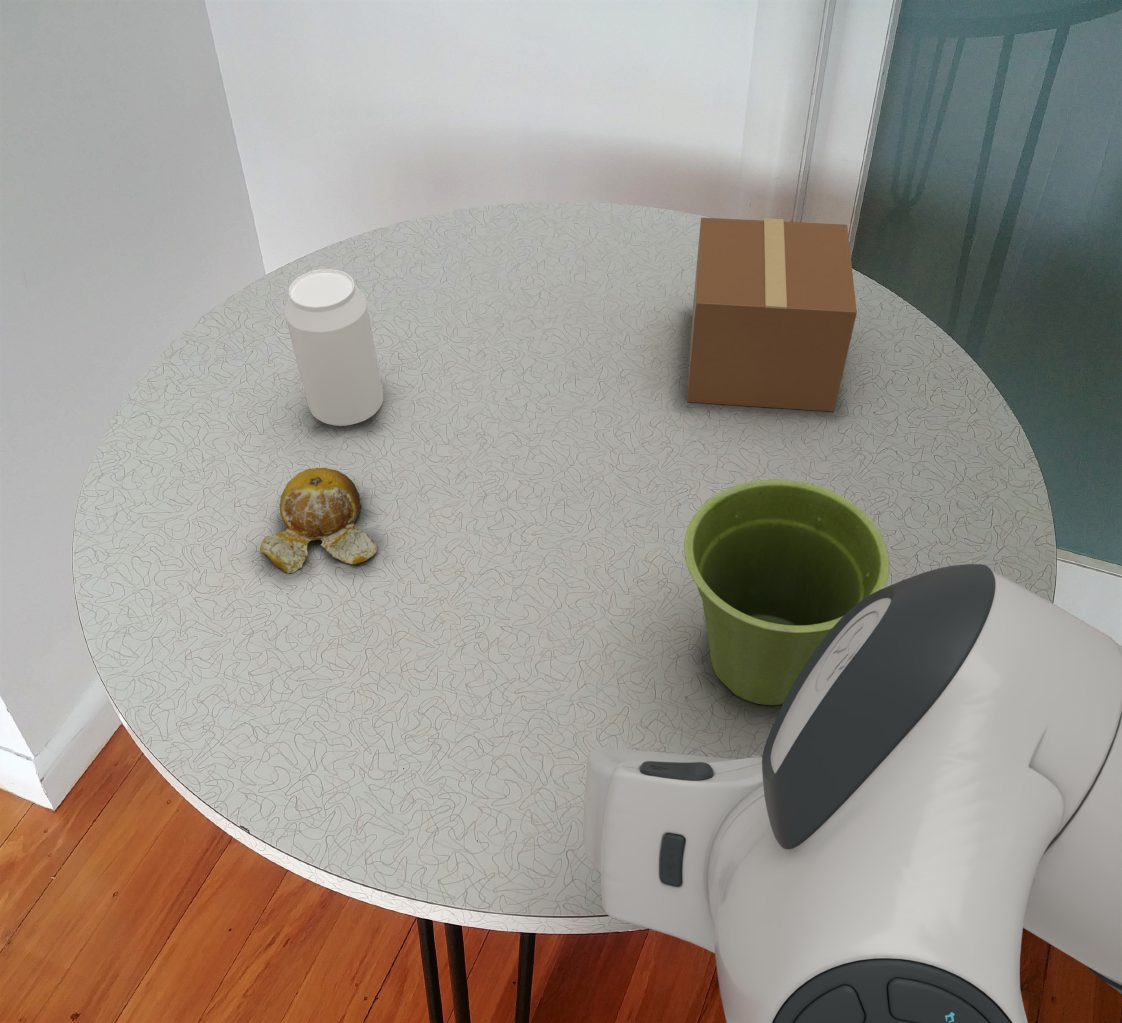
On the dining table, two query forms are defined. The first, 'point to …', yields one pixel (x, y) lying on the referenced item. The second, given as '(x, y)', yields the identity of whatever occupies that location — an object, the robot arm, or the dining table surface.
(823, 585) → the plant pot
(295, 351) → the beverage can
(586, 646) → the dining table surface
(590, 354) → the dining table surface
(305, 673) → the dining table surface
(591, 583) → the dining table surface
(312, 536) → the fruit
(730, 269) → the carton
